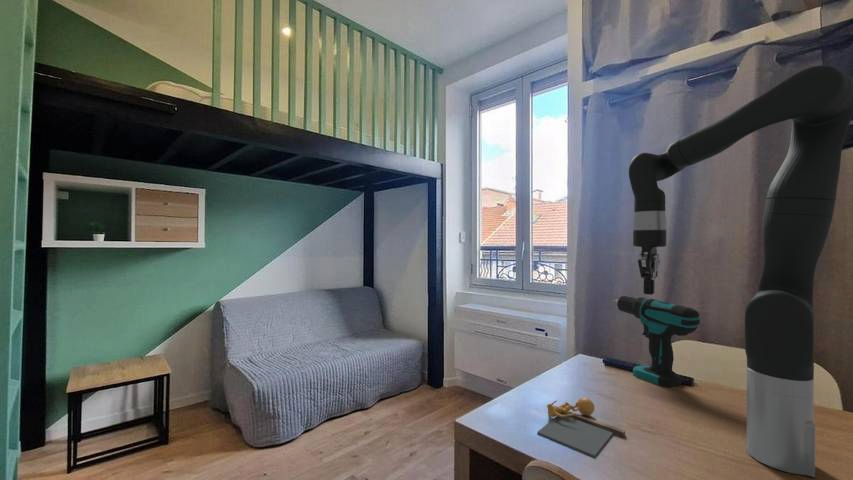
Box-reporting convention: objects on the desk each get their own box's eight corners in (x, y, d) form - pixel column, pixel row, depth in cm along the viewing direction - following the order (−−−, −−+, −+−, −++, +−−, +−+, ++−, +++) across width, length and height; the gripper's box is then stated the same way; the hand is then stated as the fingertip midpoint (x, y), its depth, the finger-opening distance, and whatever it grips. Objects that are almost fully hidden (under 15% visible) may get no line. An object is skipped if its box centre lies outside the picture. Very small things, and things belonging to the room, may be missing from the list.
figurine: (605, 406, 82) (559, 396, 80) (600, 432, 81) (554, 422, 79) (583, 393, 90) (541, 384, 88) (579, 417, 89) (537, 408, 87)
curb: (625, 435, 76) (625, 430, 76) (623, 437, 76) (623, 432, 76) (554, 410, 88) (554, 406, 88) (552, 411, 87) (552, 407, 87)
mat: (613, 434, 77) (613, 432, 77) (594, 457, 68) (594, 455, 68) (559, 415, 85) (559, 413, 85) (537, 433, 77) (537, 431, 77)
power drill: (604, 365, 121) (604, 293, 121) (621, 362, 124) (621, 292, 125) (686, 396, 97) (687, 306, 97) (705, 390, 101) (705, 304, 101)
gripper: (660, 227, 85) (660, 298, 85) (671, 229, 95) (670, 293, 94) (626, 228, 90) (626, 295, 90) (639, 230, 100) (639, 290, 100)
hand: (649, 294), depth 92 cm, fingers closed
